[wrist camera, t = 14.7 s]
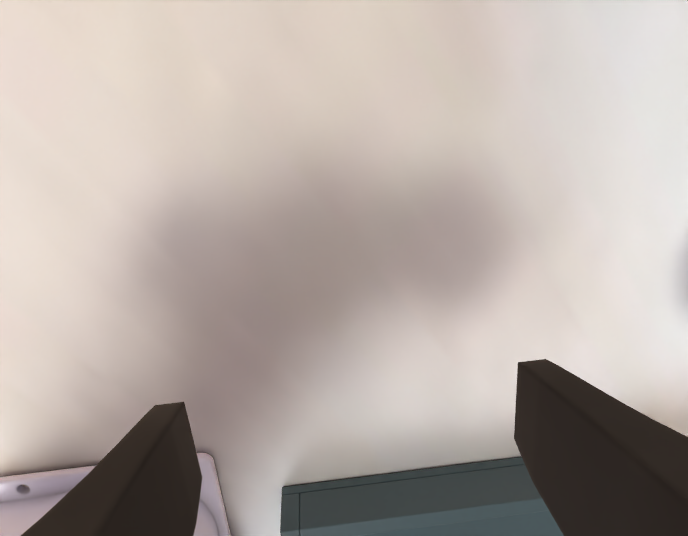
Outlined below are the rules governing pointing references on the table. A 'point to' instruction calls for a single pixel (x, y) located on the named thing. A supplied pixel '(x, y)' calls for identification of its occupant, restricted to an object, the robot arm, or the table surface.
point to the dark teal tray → (422, 504)
